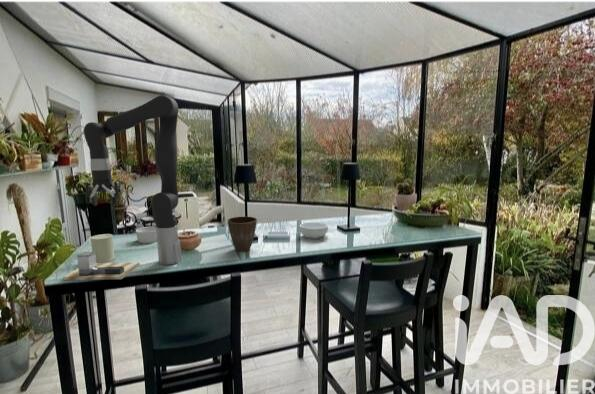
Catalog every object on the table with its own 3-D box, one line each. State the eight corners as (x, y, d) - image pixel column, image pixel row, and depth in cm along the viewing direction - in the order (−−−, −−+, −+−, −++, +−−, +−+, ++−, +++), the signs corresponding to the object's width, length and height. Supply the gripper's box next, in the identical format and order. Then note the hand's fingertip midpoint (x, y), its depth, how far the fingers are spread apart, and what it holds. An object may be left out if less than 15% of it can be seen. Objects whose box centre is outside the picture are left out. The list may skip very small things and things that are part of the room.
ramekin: (161, 242, 184) (160, 230, 183) (135, 245, 179) (134, 233, 178) (161, 236, 196) (160, 225, 195) (137, 239, 192) (136, 227, 191)
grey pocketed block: (96, 265, 139) (95, 252, 138) (89, 269, 135) (88, 255, 134) (85, 265, 139) (84, 252, 138) (78, 269, 135) (77, 255, 134)
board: (139, 265, 149) (139, 262, 149) (121, 279, 134) (121, 276, 133) (87, 265, 149) (87, 263, 149) (62, 280, 134) (62, 277, 133)
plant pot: (253, 243, 180) (253, 215, 177) (260, 251, 166) (260, 221, 164) (226, 247, 175) (225, 217, 172) (231, 255, 161) (230, 224, 158)
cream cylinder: (118, 259, 158) (115, 235, 156) (96, 264, 151) (93, 239, 149) (111, 255, 164) (108, 231, 162) (90, 260, 157) (87, 235, 155)
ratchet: (126, 269, 141) (125, 254, 140) (118, 275, 134) (117, 259, 133) (85, 270, 141) (83, 255, 139) (75, 276, 134) (73, 260, 133)
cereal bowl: (328, 241, 184) (329, 228, 183) (299, 241, 184) (299, 229, 183) (326, 233, 200) (326, 221, 199) (299, 233, 201) (299, 221, 200)
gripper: (121, 168, 148) (125, 203, 150) (89, 168, 148) (94, 203, 150) (112, 169, 140) (116, 206, 143) (79, 169, 140) (83, 207, 143)
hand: (105, 205), depth 147 cm, fingers open, 8 cm apart
